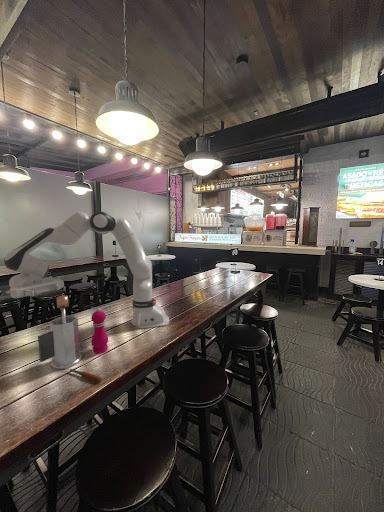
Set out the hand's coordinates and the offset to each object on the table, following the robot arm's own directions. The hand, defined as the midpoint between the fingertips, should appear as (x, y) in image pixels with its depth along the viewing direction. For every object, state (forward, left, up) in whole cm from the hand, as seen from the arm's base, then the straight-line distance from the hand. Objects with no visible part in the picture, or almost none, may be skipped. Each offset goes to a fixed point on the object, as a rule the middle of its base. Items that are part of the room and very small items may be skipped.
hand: (47, 290), depth 93 cm
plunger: (-10, +7, -27) cm, 30 cm away
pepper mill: (-21, -1, -29) cm, 36 cm away
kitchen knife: (-21, +17, -29) cm, 40 cm away
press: (-10, +8, -29) cm, 31 cm away
